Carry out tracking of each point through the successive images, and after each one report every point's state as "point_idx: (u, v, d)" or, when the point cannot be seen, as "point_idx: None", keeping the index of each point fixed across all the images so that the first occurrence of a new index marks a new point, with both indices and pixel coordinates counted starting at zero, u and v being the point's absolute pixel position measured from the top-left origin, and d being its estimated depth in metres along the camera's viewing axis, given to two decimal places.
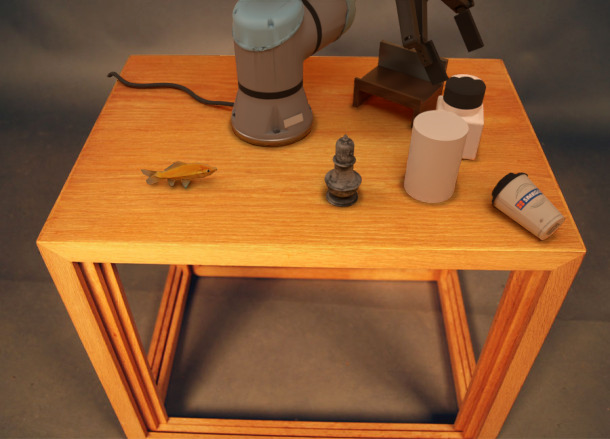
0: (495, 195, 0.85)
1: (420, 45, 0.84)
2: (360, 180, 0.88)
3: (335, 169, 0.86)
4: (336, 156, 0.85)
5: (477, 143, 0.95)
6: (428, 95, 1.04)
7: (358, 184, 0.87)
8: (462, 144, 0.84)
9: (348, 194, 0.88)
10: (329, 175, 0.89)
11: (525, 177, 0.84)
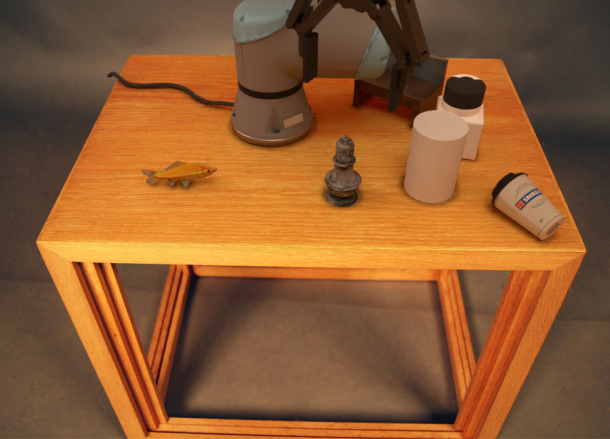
0: (495, 195, 0.85)
1: None
2: (360, 180, 0.88)
3: (335, 169, 0.86)
4: (336, 156, 0.85)
5: (477, 143, 0.95)
6: (428, 95, 1.04)
7: (358, 184, 0.87)
8: (462, 144, 0.83)
9: (348, 194, 0.88)
10: (329, 175, 0.89)
11: (525, 177, 0.84)
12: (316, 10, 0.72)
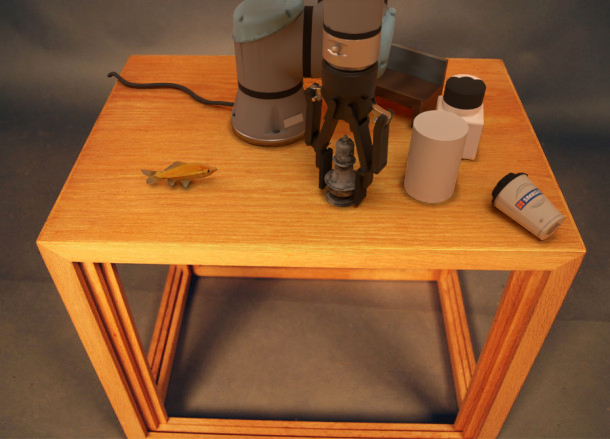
0: (495, 195, 0.85)
1: None
2: None
3: (335, 169, 0.86)
4: (336, 156, 0.85)
5: (477, 143, 0.95)
6: (428, 95, 1.04)
7: None
8: (462, 144, 0.83)
9: (348, 194, 0.88)
10: (329, 175, 0.89)
11: (525, 177, 0.84)
12: (322, 128, 0.83)
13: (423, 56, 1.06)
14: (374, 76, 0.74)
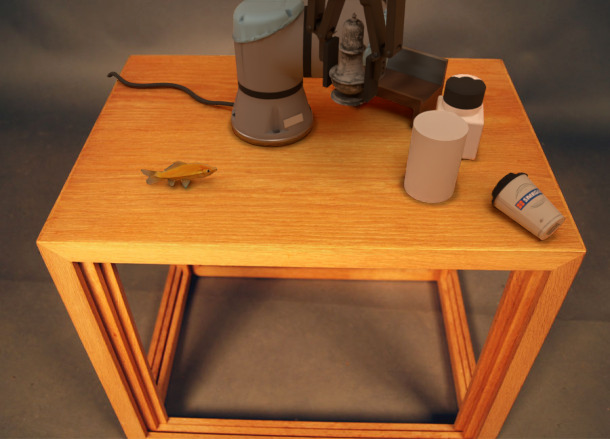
0: (495, 195, 0.85)
1: None
2: None
3: (342, 59, 0.75)
4: (343, 42, 0.73)
5: (477, 143, 0.95)
6: (428, 95, 1.04)
7: None
8: (462, 144, 0.83)
9: (357, 90, 0.76)
10: (334, 69, 0.77)
11: (525, 177, 0.84)
12: (327, 6, 0.71)
13: (423, 56, 1.06)
14: None
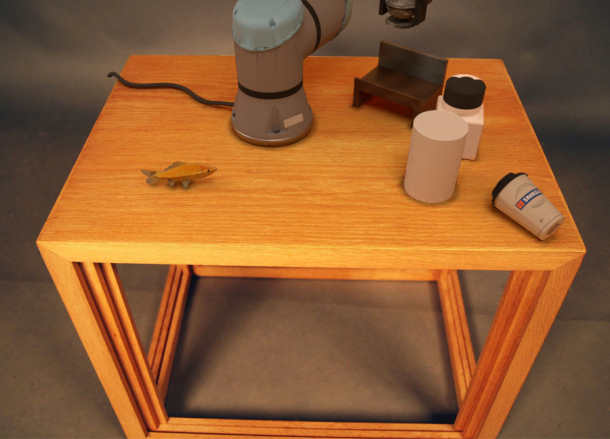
0: (495, 195, 0.85)
1: None
2: None
3: None
4: None
5: (477, 143, 0.95)
6: (428, 95, 1.04)
7: None
8: (462, 144, 0.83)
9: (408, 14, 0.91)
10: None
11: (525, 177, 0.84)
12: None
13: (423, 56, 1.06)
14: None
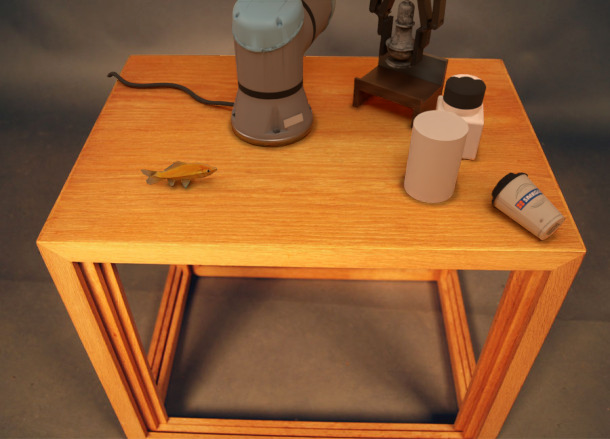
0: (495, 195, 0.85)
1: (378, 16, 1.00)
2: None
3: (396, 32, 0.99)
4: (398, 18, 0.97)
5: (477, 143, 0.95)
6: (428, 95, 1.04)
7: None
8: (462, 144, 0.83)
9: (407, 56, 1.00)
10: (390, 40, 1.01)
11: (525, 177, 0.84)
12: None
13: (423, 56, 1.06)
14: None
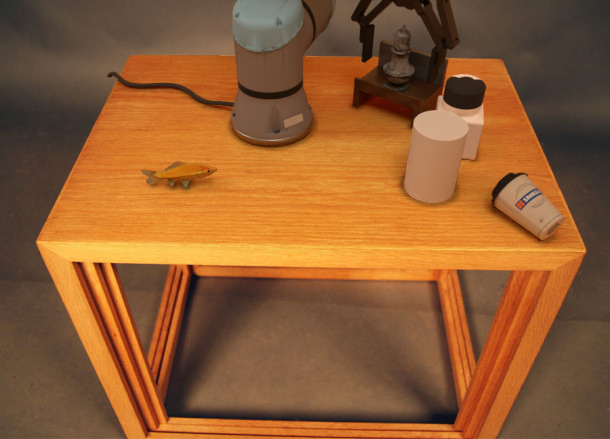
0: (495, 195, 0.85)
1: None
2: (413, 69, 1.04)
3: (393, 58, 1.02)
4: (395, 45, 1.01)
5: (477, 143, 0.95)
6: (428, 95, 1.04)
7: (412, 72, 1.03)
8: (462, 144, 0.83)
9: (404, 81, 1.03)
10: (387, 65, 1.04)
11: (525, 177, 0.84)
12: (376, 8, 0.99)
13: (423, 56, 1.06)
14: None
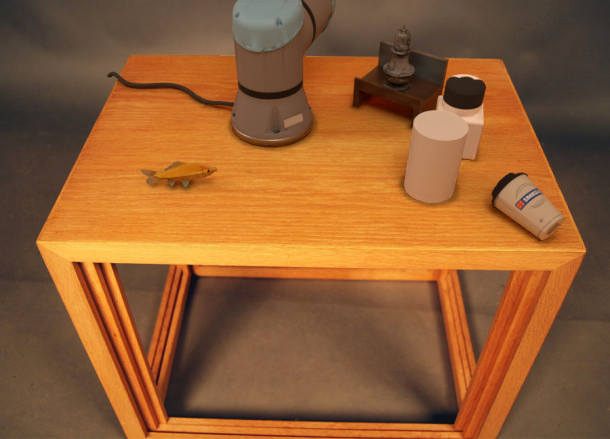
0: (495, 195, 0.85)
1: None
2: (413, 69, 1.04)
3: (393, 58, 1.02)
4: (395, 45, 1.01)
5: (477, 143, 0.95)
6: (428, 95, 1.04)
7: (412, 72, 1.03)
8: (462, 144, 0.83)
9: (404, 81, 1.03)
10: (387, 65, 1.04)
11: (525, 177, 0.84)
12: None
13: (423, 56, 1.06)
14: None
